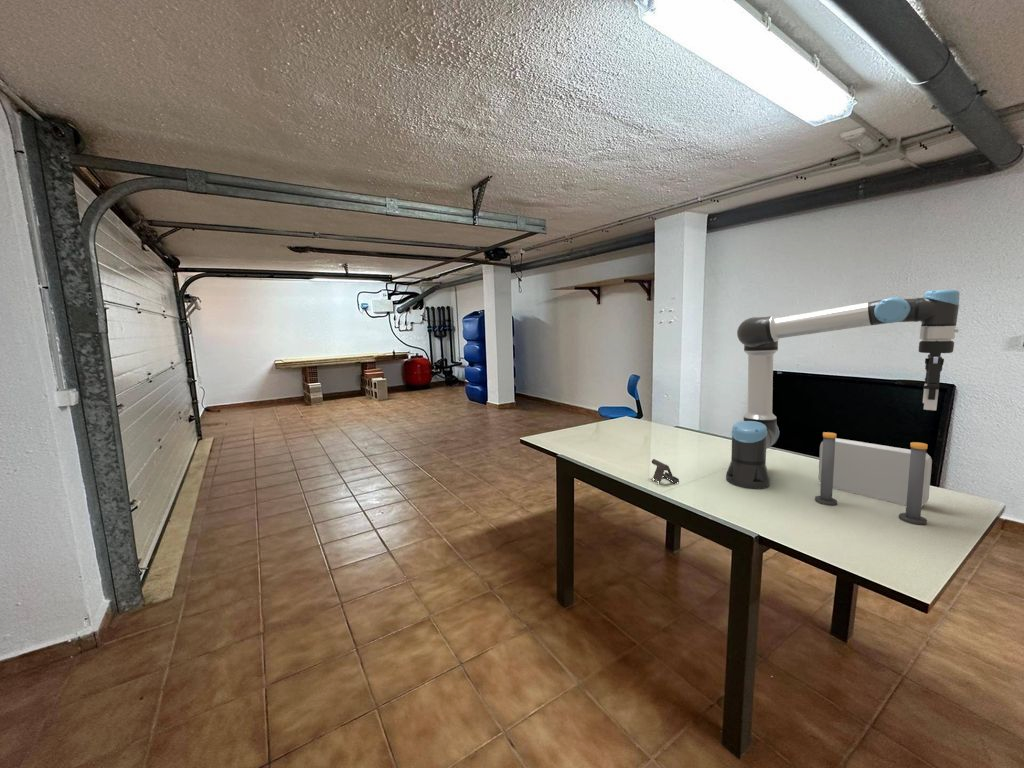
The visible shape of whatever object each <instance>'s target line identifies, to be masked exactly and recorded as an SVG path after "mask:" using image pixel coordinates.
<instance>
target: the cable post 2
mask: <svg viewBox="0 0 1024 768" xmlns="http://www.w3.org/2000/svg"><path fill="white" fill-rule="evenodd" d="M928 446H929V445H928V444H927V443H924V442H919V441H918V442H917V441H916V442H915V441H912V442H910V446H909V447H910V450H911V454H910V467H909V479H908V491H907V503H906V506H905V512H902V513H901V512H900V513H899V514H898V519H899V520H900V521H903V522H905V523H908V524H912V525H916V526H925V525H927V524H928V520H927V518H926V517H923V516H922V507H923V506H922V494H923V483H924V471H925V460H926V453H927V450H928Z"/></svg>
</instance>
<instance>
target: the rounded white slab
mask: <svg viewBox="0 0 1024 768" xmlns="http://www.w3.org/2000/svg"><path fill="white" fill-rule="evenodd" d="M822 453H823V441H821V442H820V445H819V456H818V457H819V459H818V461H819V462H818V477H817V478H818V482H819V483H820V484H821V471H822ZM910 454H911V449H908V448H901V447H896V446H895V447H894V446H889V445H882V444H877V443H869V442H864V441H857V440H850V439H844V438H837V437H836V438H835V456H834V473H833V489H834V490H839V491H842V492H843V491H844V492H848V493H852V494H856V495H861V496H864V497H868V498H872V499H877V500H881V501H884V502H885V501H886V502H889V503H893V504H897V505H902V506H905V507H906V503H907V491H908V479H909V467H910ZM932 464H933V459H932V457H931V456H930V455H929V454H928V452H926V460H925V471H924V483H923V494H922V506H921V507H924V506H925V504H927V502H928V500H929V498H930V486H931V478H932V477H931V475H932Z"/></svg>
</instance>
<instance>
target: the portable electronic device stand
mask: <svg viewBox="0 0 1024 768" xmlns="http://www.w3.org/2000/svg"><path fill="white" fill-rule="evenodd" d="M651 464H652V465H654V466H656V469H655V472H654V474H653V476H652V479H653V478H654V479H655V481H656V482H657V481H659V482H660V483H661V481H662V479H663V478H664V477H666V478H668V479H670V480H672V481H673V482H674V483H673V482H672V483H673V484H675V483H677V482H679V483H680V480H679V478H678V477H676V476H674V475H673V473H672V472H671V469H670V466H669V465H667V464H666V463H663V462H661V461H659V460H657V459H655V458H653V459H652V460H651ZM662 476H664V477H662ZM666 478H665V479H666ZM668 479H667V480H668ZM670 480H669V481H670Z"/></svg>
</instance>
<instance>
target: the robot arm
mask: <svg viewBox="0 0 1024 768" xmlns="http://www.w3.org/2000/svg"><path fill="white" fill-rule="evenodd" d="M959 307H960V291H959V290H956V289H942V290H941V289H940V290H938V289H936V290H928V291H925V293H924V295H923V297H917V298H916V297H915V298H901V297H899V296H898V297H896V296H892V297H886V298H883V299H880V300H873V301H870V302H869V301H867V302H862V303H861V302H860V303H857V304H856V303H855V304H850V305H845V306H838V307H834V308H833V307H832V308H827V309H820V310H814V311H808V312H804V313H797V314H792V315H787V316H780V317H776V316H774V315H771V316H761V317H759V316H752V317H749V318H747V319H745V320H743V321H742V322H741V323H740V325H739V326H738V328H737V331H736V334H737V335H736V336H737V339H738V341H739V342H740V343H741V344H742V345H743V351H744V352H745V354H746V355H747V356H748V357H747V358H748V365H747V412H746V413H745V414H743V421H738V422H736V423H734V424H733V425H732V428H731V429H732V430H731V460H730V464H729V466H728V467H727V468H728V469H727V471H726V472H725V480H726V482H728V483H730V484H731V485H734V486H738V487H740V488H741V487H742V488H746V489H747V488H748V489H765V488H769V487H770V486H771V477H770V474H769V471H768V468H767V465H766V464H767V463H766V462H767V449H768V448H770V447H772V446H773V445H775V444H776V443H777V442H778V440H779V437H780V430H779V429H780V428H779V426H778V424H777V416H776V415H775V414H774V413H773V390H774V387H773V385H774V384H773V383H774V381H773V380H774V379H773V377H774V354H775V353H777V351H779V350H778V349H779V340H780V339H784V338H785V339H786V338H793V337H797V336H798V337H801V336H805V335H807V336H808V335H813V334H821V333H828V332H833V331H842V330H848V329H854V328H855V329H856V328H862V327H869V326H877V325H884V324H894V323H913V322H914V323H916V322H917V323H918V322H921V325H920V330H919V331H920V333H919V339H920V341H919V342H918V352H919V353H922V354H928V355H927V357H926V358H924V359H925V360H924V364H925V368H924V369H925V378H924V385H923V388H922V389H923V395H922V404H923V410H926V411H937V408H938V400H939V399H938V398H939V389H940V387H941V385H940V380H941V379H940V378H941V372H942V371H943V365H944V364H945V363H944V362H945V358H943V357H942V356H941V354H951V353H953V352H954V349H955V348H954V347H955V341H953V340H954V339H955V336H956V334H955V333H959V331H960V330H959V329H957V327H956V326H957V321H958V316H959V315H958V314H959V309H960V308H959Z"/></svg>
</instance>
